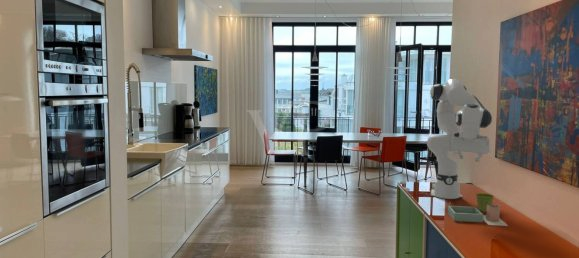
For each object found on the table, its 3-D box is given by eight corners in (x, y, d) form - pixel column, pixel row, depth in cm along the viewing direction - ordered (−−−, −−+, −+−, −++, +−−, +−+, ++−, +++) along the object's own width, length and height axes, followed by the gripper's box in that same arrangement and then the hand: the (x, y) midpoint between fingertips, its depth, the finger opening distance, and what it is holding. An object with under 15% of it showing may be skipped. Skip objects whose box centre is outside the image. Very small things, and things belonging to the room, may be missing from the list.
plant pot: (495, 213, 227) (496, 197, 226) (477, 212, 229) (477, 197, 228) (491, 208, 236) (491, 193, 235) (473, 207, 238) (473, 192, 237)
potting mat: (479, 215, 223) (479, 215, 223) (496, 216, 222) (496, 215, 222) (488, 224, 208) (488, 224, 208) (507, 225, 206) (507, 225, 206)
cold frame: (447, 212, 228) (448, 205, 227) (474, 214, 226) (475, 206, 225) (453, 220, 214) (454, 213, 214) (482, 222, 212) (483, 214, 212)
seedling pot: (484, 218, 218) (485, 203, 218) (496, 218, 217) (497, 204, 217) (488, 221, 212) (489, 207, 212) (500, 222, 212) (501, 207, 211)
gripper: (492, 136, 217) (491, 162, 218) (456, 132, 233) (455, 157, 234) (486, 136, 213) (484, 163, 214) (449, 133, 229) (448, 158, 231)
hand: (469, 160), depth 224 cm, fingers open, 8 cm apart
